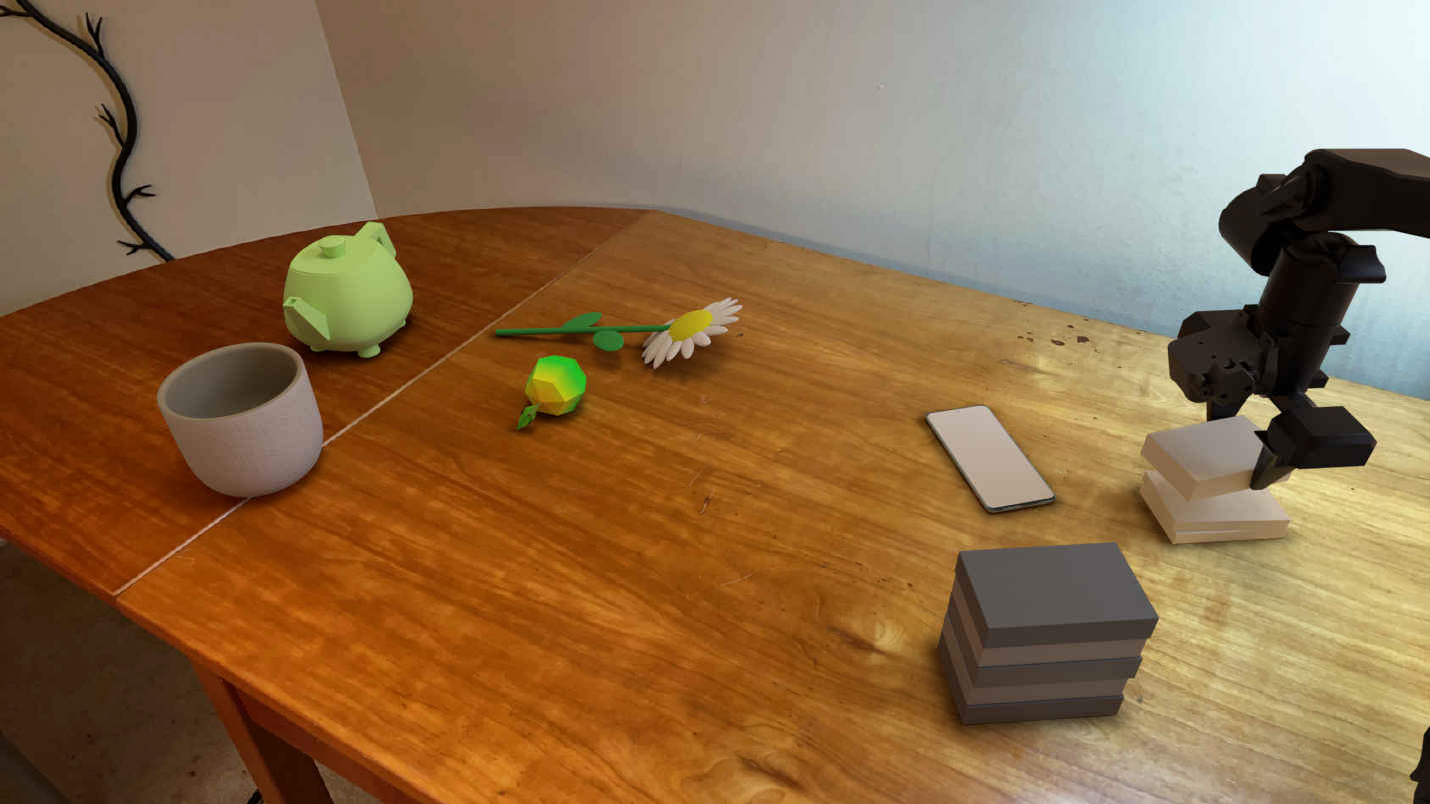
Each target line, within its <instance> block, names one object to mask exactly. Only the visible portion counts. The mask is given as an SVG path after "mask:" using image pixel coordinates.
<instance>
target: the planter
mask: <svg viewBox="0 0 1430 804" xmlns="http://www.w3.org/2000/svg"><path fill="white" fill-rule="evenodd" d="M156 404H157V406H158V409H159V411H160V413H161V415H162V418H163V419H164V421H165V424H166V425H167V427H168V429H169V430H170V433H171V435H172V437H173V439H174V441H175V443H176V445H177V447H178V449H179V451H180V453H181V455H182V456H183V458H184V460H185V462H186V464H187V465H188V467H189V468H190V470H191V471H192V472H193V474H194V475H195V477H197V479H198V480H200V481H201V482H202V483H203V484H204V485H205V486H207V487H208V488H209V489H211V490H214V491H215V492H218V493H220V494H222V495H226V496H229V497H235V498H256V497H262V496H263V497H264V496H267V495H271V494H274V493H277V492H280V491H282V490H284V489H287V488H288V487H290V486H292V485H294V484H296V483H297V482H299V481H300V480H301V479H303V478H304V477H305V476H306V475H307V474H308V473H309V472H310V471H311V469H312V468H313V467H314V466H315V465H316V463H317V461H318V460H319V457H320V456H321V452H322V449H323V443H324V427H323V421H322V416H321V413H320V409H319V406H318V403H317V399H316V396H315V393H314V391H313V387H312V385H311V382H310V379H309V375H308V372H307V369H306V366H305V362H304V360H303V358H302V357H301V355H300V354H299V353H298V352H297V351H295V350H294V349H293V348H290V347H288V346H285V345H282V344H278V343H273V342H263V341H261V342H260V341H258V342H244V343H243V342H241V343H237V344H231V345H228V346H227V345H226V346H223V347H219V348H216V349H212V350H210V351H207V352H204V353H202V354H200V355H198V356H196V357H193V358H191V359H190V360H187V361H186V362H184V363H183V364H181V365H180V366H178V367H177V368H176V369H174V370H173V371H171V372H170V374H169V375H167V376H166V378H165V379H164V380H163V381H162V382H161V384H160V385H159V387H158V390H157V392H156Z"/></svg>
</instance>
